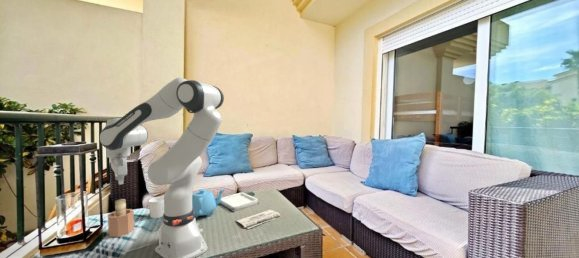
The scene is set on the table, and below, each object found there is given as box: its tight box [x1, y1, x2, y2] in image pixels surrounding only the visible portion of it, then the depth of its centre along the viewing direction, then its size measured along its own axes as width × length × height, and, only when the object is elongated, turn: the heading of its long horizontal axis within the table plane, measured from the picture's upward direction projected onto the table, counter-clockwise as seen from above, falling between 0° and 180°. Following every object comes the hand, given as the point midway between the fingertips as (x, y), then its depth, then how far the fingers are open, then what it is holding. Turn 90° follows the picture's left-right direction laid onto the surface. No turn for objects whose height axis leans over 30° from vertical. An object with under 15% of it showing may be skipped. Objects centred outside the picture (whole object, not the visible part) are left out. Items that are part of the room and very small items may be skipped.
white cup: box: [148, 196, 164, 219], centre depth 123 cm, size 8×8×10 cm
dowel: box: [114, 198, 127, 217], centre depth 106 cm, size 4×4×15 cm
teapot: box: [192, 188, 226, 219], centre depth 128 cm, size 16×20×14 cm
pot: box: [107, 208, 135, 238], centre depth 106 cm, size 9×9×10 cm
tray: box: [219, 191, 260, 212], centre depth 144 cm, size 20×18×2 cm
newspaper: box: [236, 209, 281, 230], centre depth 121 cm, size 23×12×2 cm, turn 129°
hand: (119, 181), depth 105 cm, fingers open, 8 cm apart
